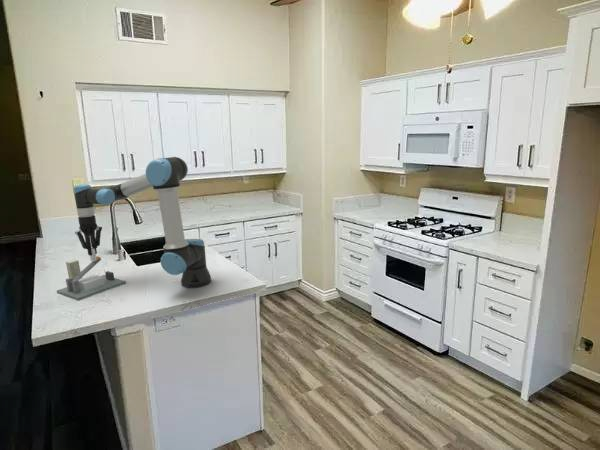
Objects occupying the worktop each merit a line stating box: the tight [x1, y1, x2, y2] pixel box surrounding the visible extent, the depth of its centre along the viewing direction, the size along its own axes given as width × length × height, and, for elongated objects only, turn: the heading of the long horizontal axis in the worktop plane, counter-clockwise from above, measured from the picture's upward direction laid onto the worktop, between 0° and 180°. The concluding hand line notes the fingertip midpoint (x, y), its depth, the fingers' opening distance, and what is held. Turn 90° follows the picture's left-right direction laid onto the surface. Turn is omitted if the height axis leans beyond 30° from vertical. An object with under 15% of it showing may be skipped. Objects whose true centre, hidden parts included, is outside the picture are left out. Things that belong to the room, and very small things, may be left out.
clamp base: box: [56, 270, 127, 301], centre depth 199 cm, size 20×25×8 cm
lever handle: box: [72, 255, 102, 281], centre depth 197 cm, size 3×16×2 cm
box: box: [65, 259, 81, 279], centre depth 211 cm, size 5×4×11 cm
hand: (93, 260), depth 199 cm, fingers closed
